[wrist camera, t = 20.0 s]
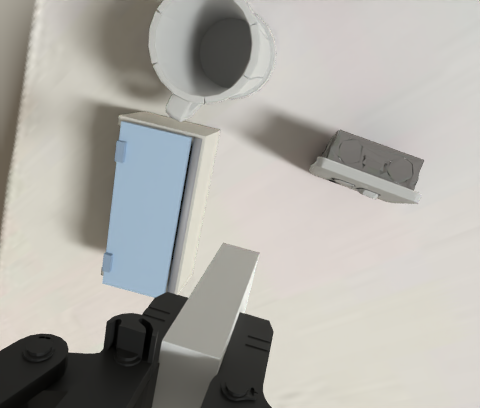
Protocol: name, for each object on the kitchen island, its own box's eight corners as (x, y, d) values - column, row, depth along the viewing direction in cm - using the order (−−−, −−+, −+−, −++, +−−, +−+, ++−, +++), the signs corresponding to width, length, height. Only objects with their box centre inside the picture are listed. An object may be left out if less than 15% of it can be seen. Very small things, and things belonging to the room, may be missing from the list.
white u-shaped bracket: (144, 111, 46) (118, 115, 40) (220, 129, 45) (205, 136, 39) (125, 254, 51) (100, 275, 46) (192, 273, 50) (176, 297, 45)
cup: (276, 115, 43) (260, 126, 32) (193, 115, 45) (150, 125, 34) (277, 6, 40) (260, -25, 29) (189, 10, 42) (140, -17, 31)
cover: (125, 120, 39) (118, 121, 38) (203, 138, 39) (199, 140, 37) (106, 279, 45) (100, 285, 43) (174, 297, 44) (170, 304, 43)
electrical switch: (307, 171, 44) (307, 183, 35) (325, 125, 43) (330, 126, 34) (390, 202, 44) (412, 223, 35) (411, 156, 42) (439, 165, 33)
